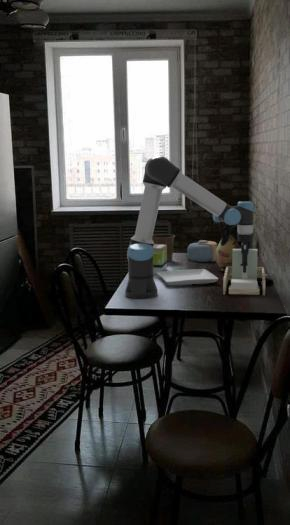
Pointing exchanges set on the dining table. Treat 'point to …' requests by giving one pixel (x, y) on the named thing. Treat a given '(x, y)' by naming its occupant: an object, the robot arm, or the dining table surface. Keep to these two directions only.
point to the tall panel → (250, 261)
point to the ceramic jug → (225, 247)
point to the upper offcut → (244, 284)
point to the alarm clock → (202, 251)
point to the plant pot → (167, 241)
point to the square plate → (187, 277)
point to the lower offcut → (244, 291)
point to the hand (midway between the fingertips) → (244, 276)
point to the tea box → (159, 258)
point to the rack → (229, 276)
